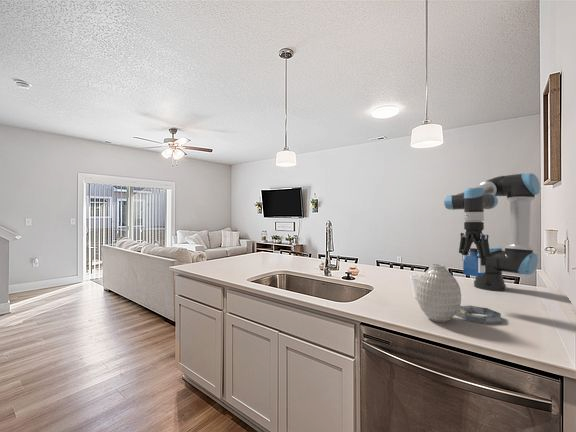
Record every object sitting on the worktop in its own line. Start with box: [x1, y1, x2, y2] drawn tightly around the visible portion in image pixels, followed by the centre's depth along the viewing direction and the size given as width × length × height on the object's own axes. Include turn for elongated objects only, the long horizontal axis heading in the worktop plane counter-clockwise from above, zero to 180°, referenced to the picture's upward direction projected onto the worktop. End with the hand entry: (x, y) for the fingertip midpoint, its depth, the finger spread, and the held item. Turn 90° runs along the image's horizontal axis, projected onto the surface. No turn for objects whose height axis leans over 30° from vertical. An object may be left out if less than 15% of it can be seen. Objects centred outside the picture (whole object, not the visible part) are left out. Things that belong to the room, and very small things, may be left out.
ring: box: [454, 305, 502, 325], centre depth 117 cm, size 16×16×3 cm
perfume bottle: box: [462, 247, 484, 277], centre depth 128 cm, size 6×6×12 cm
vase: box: [416, 263, 462, 323], centre depth 114 cm, size 16×16×22 cm
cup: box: [409, 274, 422, 300], centre depth 142 cm, size 10×10×11 cm
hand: (473, 270), depth 128 cm, fingers closed on perfume bottle, 8 cm apart
